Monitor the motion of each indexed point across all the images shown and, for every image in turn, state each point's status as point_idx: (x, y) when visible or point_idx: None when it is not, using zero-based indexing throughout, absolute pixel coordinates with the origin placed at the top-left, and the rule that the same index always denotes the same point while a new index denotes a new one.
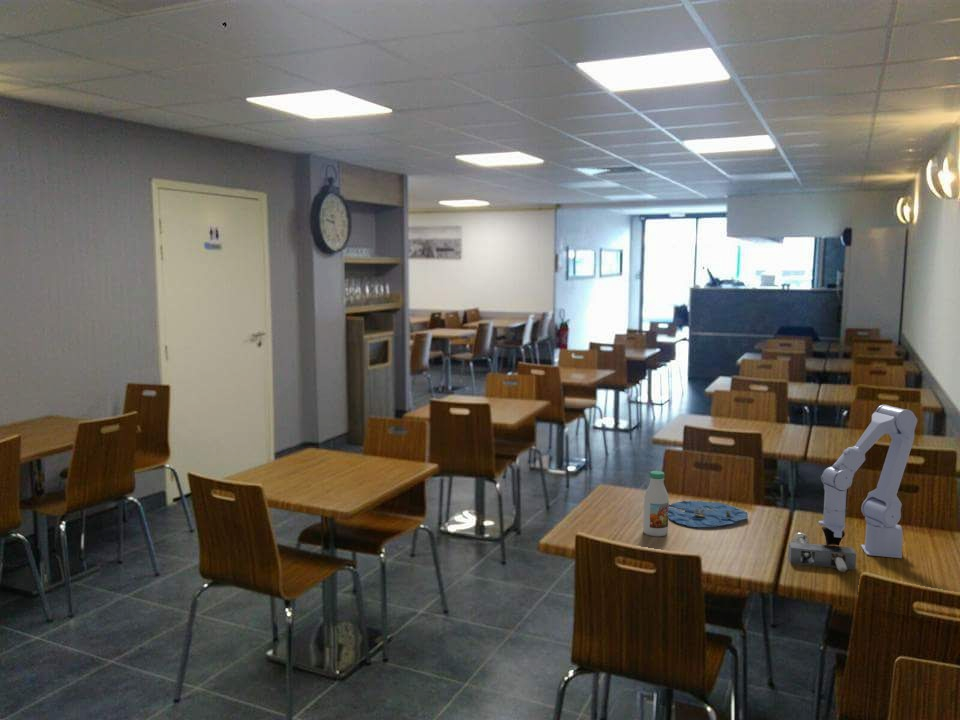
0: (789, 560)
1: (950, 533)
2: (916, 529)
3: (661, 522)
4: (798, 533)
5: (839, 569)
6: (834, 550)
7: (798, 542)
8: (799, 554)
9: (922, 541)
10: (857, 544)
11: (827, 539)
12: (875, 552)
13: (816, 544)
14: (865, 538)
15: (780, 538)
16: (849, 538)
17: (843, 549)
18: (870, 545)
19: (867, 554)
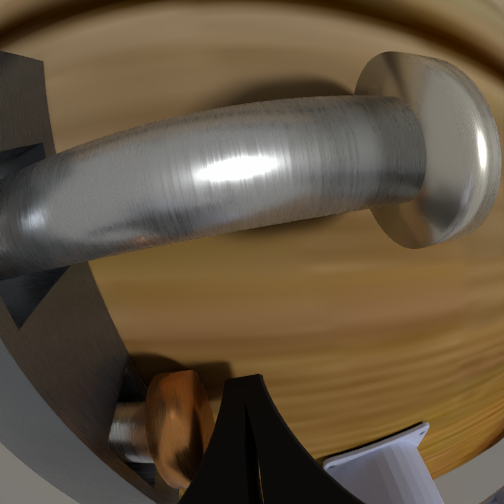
0: None
1: (469, 460)
2: (497, 430)
3: None
4: (471, 123)
5: None
6: (32, 459)
7: (244, 107)
8: None
9: (443, 463)
10: (444, 405)
11: (183, 495)
12: (333, 477)
13: (28, 387)
14: (402, 481)
15: (486, 32)
16: (495, 368)
17: (98, 494)
18: (356, 486)
19: (325, 462)
